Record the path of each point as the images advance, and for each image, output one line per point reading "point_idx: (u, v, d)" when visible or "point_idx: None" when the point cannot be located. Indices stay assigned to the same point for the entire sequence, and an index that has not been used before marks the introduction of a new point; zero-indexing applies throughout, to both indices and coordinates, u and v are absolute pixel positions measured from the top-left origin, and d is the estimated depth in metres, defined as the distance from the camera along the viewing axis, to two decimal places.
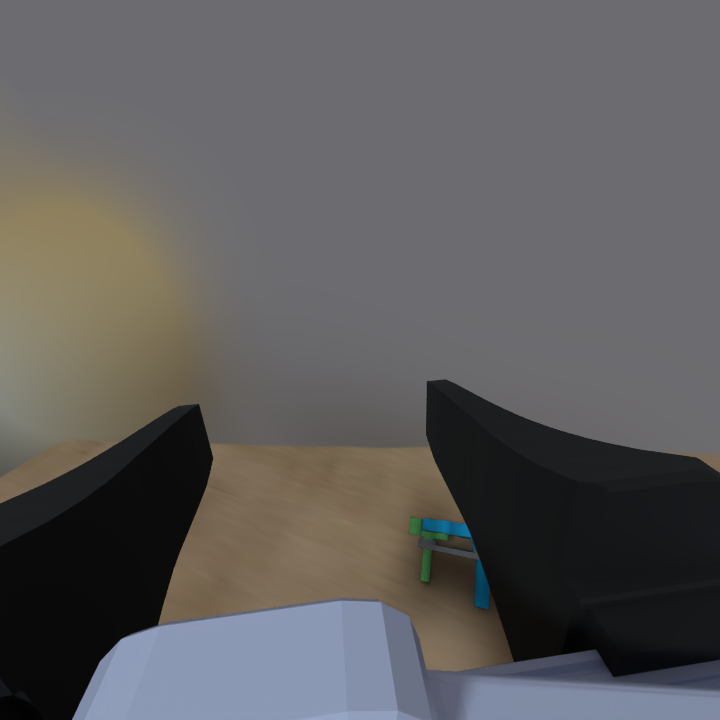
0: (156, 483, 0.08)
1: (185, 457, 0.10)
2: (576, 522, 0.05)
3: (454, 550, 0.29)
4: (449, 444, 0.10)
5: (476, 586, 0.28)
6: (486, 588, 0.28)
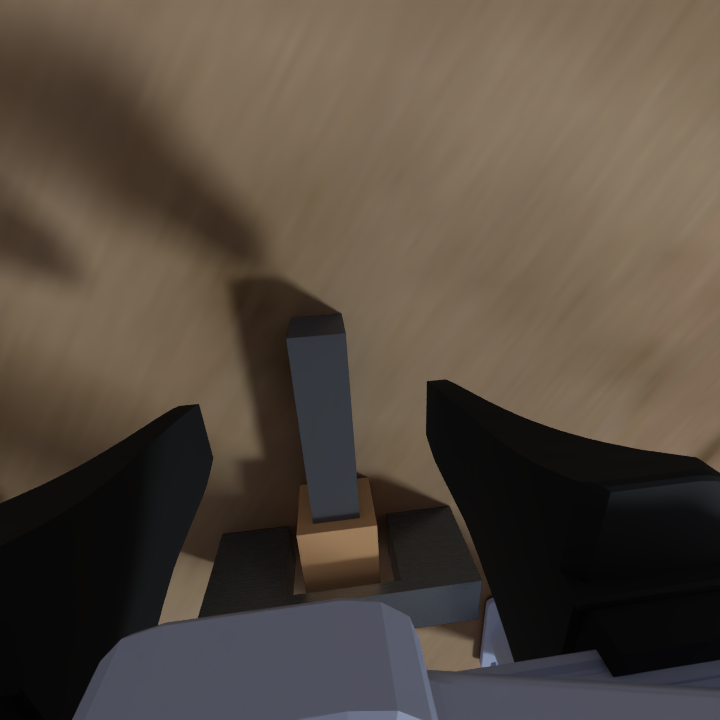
0: (156, 483, 0.08)
1: (185, 457, 0.10)
2: (576, 523, 0.05)
3: None
4: (449, 444, 0.10)
5: None
6: None
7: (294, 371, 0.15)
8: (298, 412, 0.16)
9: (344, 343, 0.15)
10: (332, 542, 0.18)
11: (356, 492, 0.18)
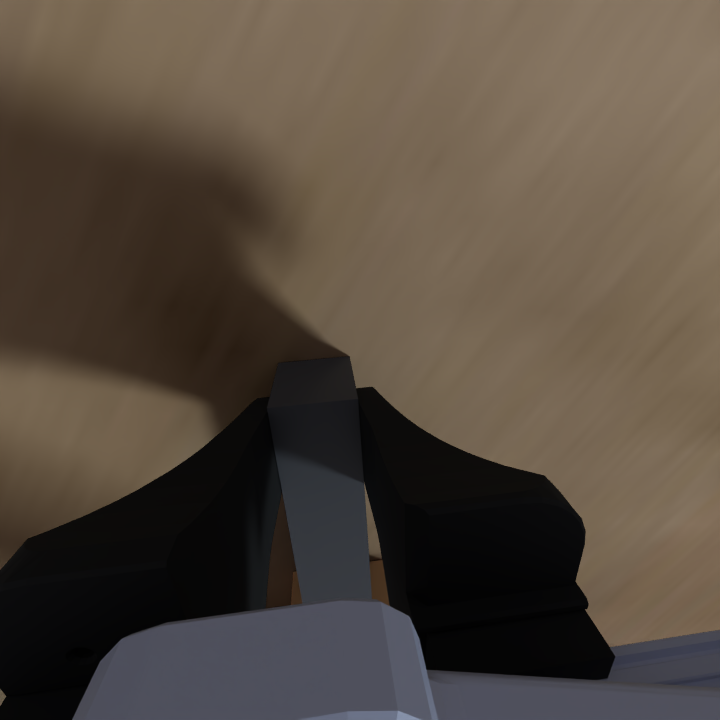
0: (258, 471, 0.09)
1: (272, 447, 0.10)
2: (410, 545, 0.05)
3: None
4: (364, 453, 0.10)
5: None
6: None
7: (280, 453, 0.10)
8: (287, 507, 0.11)
9: (356, 413, 0.10)
10: None
11: None
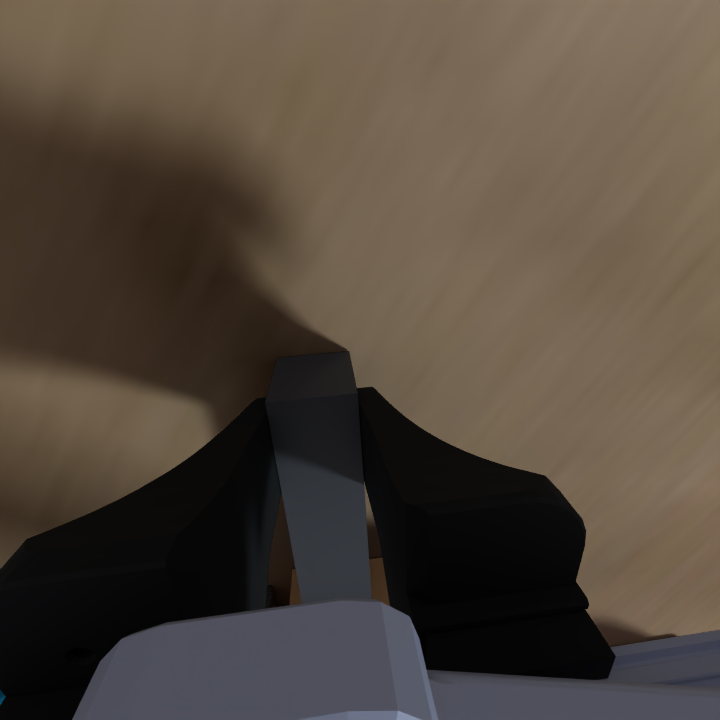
0: (258, 471, 0.09)
1: (272, 447, 0.10)
2: (410, 544, 0.05)
3: None
4: (365, 454, 0.10)
5: None
6: None
7: (279, 448, 0.10)
8: (286, 503, 0.11)
9: (355, 407, 0.10)
10: None
11: None
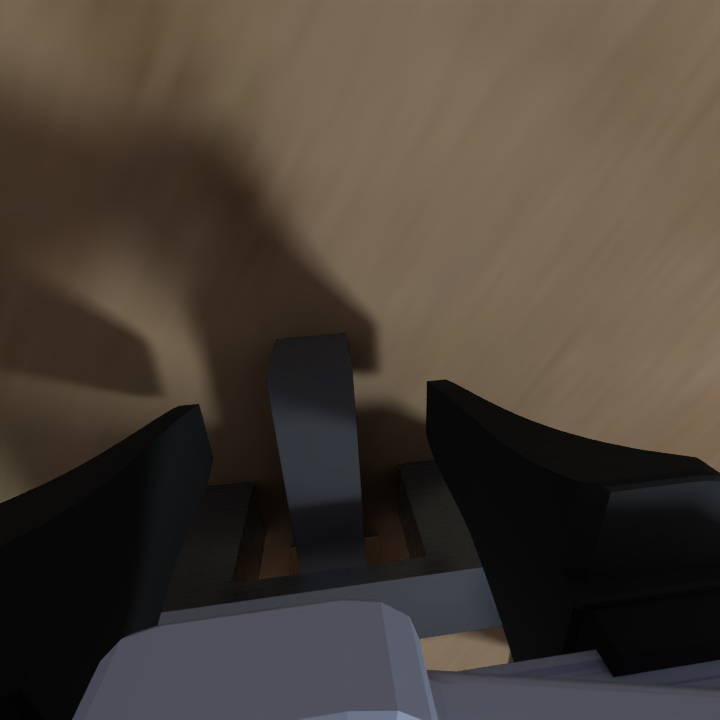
0: (156, 483, 0.08)
1: (185, 457, 0.10)
2: (576, 523, 0.05)
3: None
4: (449, 444, 0.10)
5: None
6: None
7: (278, 420, 0.11)
8: (285, 474, 0.11)
9: (350, 381, 0.10)
10: None
11: None
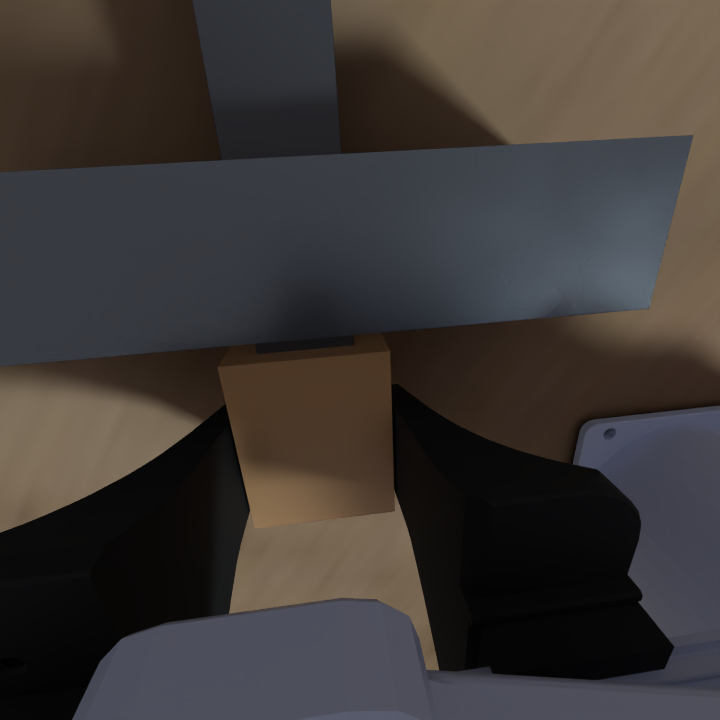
0: (223, 475, 0.09)
1: None
2: (468, 537, 0.05)
3: None
4: (394, 450, 0.10)
5: None
6: None
7: None
8: (198, 6, 0.06)
9: None
10: (296, 389, 0.09)
11: None
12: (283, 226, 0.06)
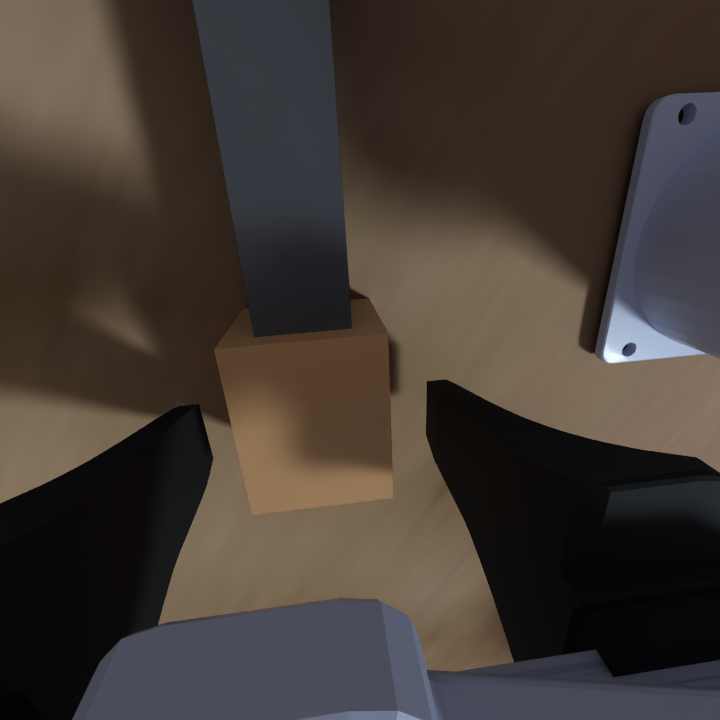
0: (156, 483, 0.08)
1: (185, 457, 0.10)
2: (576, 522, 0.05)
3: None
4: (449, 444, 0.10)
5: None
6: None
7: None
8: None
9: None
10: (293, 373, 0.09)
11: (344, 258, 0.08)
12: None
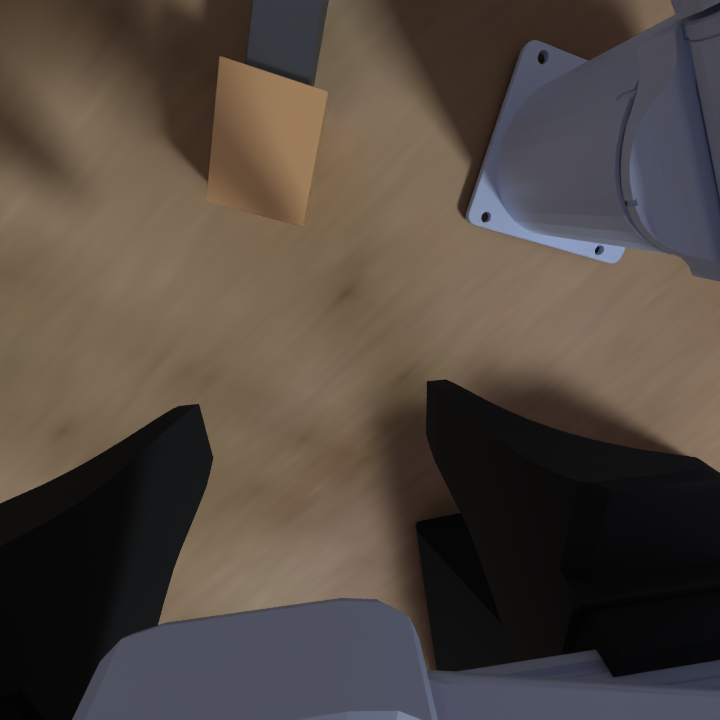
0: (156, 483, 0.08)
1: (185, 457, 0.10)
2: (576, 522, 0.05)
3: None
4: (448, 444, 0.10)
5: None
6: None
7: None
8: None
9: None
10: (263, 96, 0.14)
11: (314, 36, 0.14)
12: None
